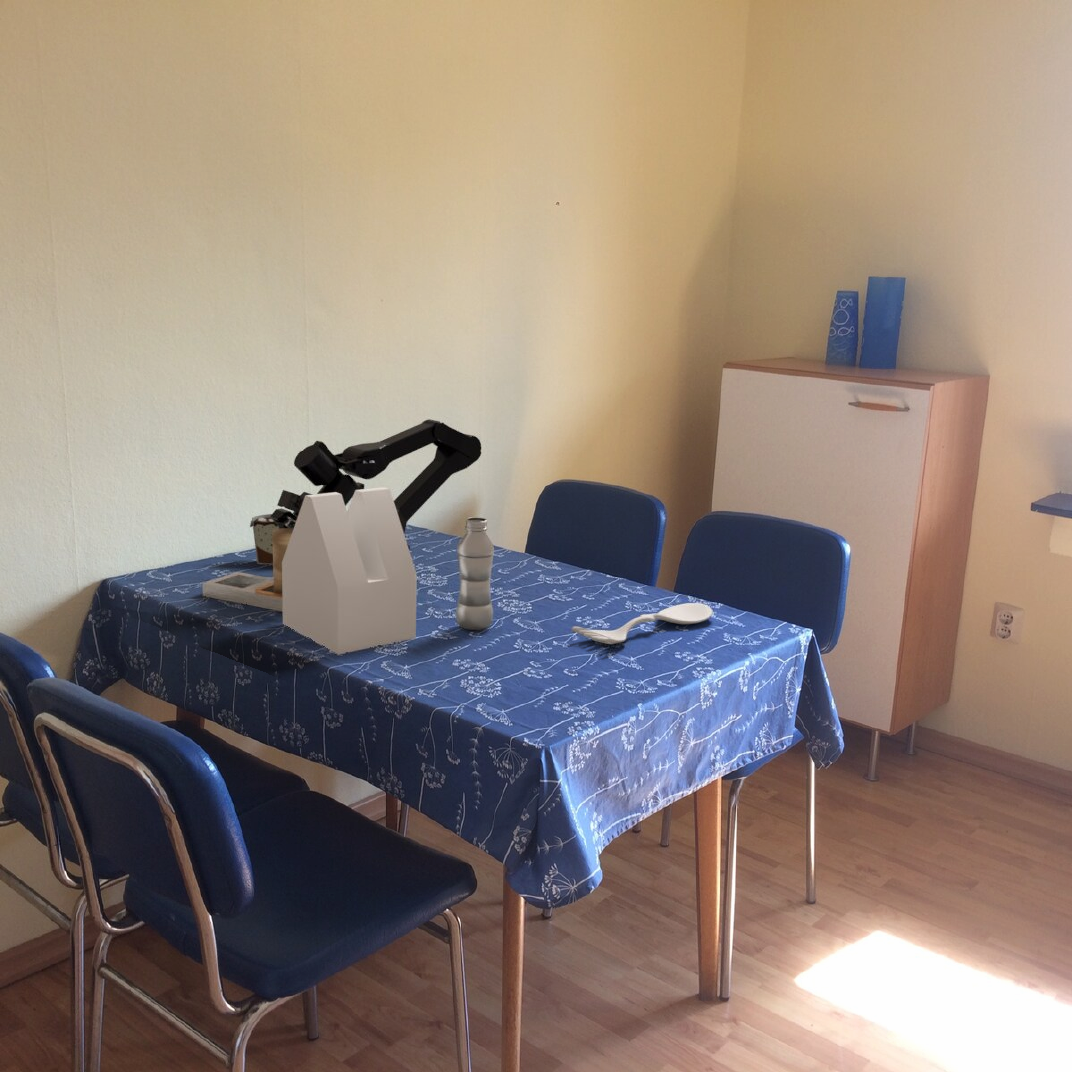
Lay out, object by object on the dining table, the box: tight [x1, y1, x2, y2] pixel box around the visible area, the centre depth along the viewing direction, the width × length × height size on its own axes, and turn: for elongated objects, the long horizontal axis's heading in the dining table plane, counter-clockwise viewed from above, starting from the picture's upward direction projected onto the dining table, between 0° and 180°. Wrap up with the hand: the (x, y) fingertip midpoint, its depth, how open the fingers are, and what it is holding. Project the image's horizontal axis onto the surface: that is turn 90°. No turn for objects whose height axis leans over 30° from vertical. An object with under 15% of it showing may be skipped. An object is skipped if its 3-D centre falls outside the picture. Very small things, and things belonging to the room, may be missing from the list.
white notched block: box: [282, 486, 418, 655], centre depth 192 cm, size 19×15×25 cm
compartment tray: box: [202, 571, 283, 613], centre depth 212 cm, size 21×10×3 cm, turn 65°
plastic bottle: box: [455, 516, 495, 631], centre depth 197 cm, size 6×7×20 cm
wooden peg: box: [272, 528, 293, 594], centre depth 208 cm, size 5×5×13 cm
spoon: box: [571, 602, 714, 645], centre depth 201 cm, size 9×32×4 cm, turn 134°
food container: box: [249, 513, 298, 566], centre depth 238 cm, size 12×6×10 cm, turn 84°
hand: (280, 565), depth 207 cm, fingers closed on wooden peg, 5 cm apart
